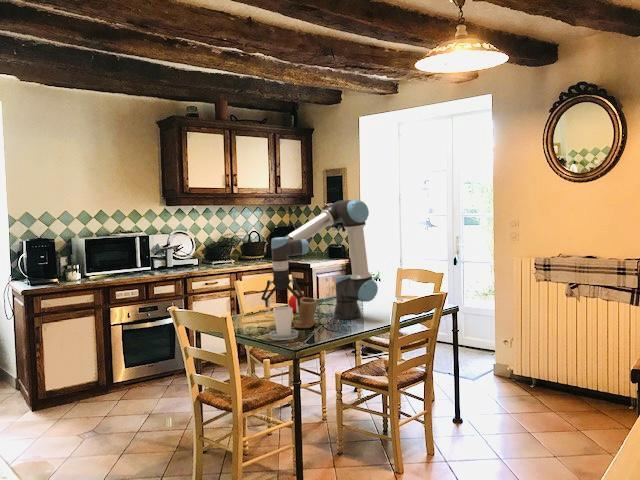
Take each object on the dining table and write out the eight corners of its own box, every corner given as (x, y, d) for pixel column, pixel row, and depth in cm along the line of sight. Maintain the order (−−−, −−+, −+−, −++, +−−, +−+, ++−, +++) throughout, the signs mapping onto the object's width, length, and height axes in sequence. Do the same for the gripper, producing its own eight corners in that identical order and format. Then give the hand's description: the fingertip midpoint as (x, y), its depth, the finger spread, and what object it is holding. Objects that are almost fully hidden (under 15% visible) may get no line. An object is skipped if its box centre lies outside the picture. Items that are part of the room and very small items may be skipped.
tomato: (308, 309, 339) (307, 292, 339) (305, 313, 329) (305, 295, 328) (290, 310, 340) (289, 292, 340) (287, 313, 330) (287, 295, 329)
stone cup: (314, 330, 286) (313, 300, 285) (291, 329, 289) (290, 300, 288) (322, 323, 300) (320, 295, 299) (300, 323, 304) (299, 295, 303)
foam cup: (290, 337, 269) (289, 310, 268) (271, 337, 271) (270, 310, 270) (295, 332, 278) (294, 306, 278) (277, 332, 280) (276, 306, 279)
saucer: (298, 332, 282) (298, 328, 282) (297, 339, 268) (297, 335, 268) (270, 333, 282) (270, 329, 282) (268, 340, 268) (267, 336, 268)
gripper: (253, 272, 269) (256, 316, 270) (306, 269, 269) (309, 313, 270) (255, 270, 276) (258, 313, 278) (306, 267, 276) (309, 310, 278)
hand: (283, 313), depth 274 cm, fingers open, 13 cm apart
